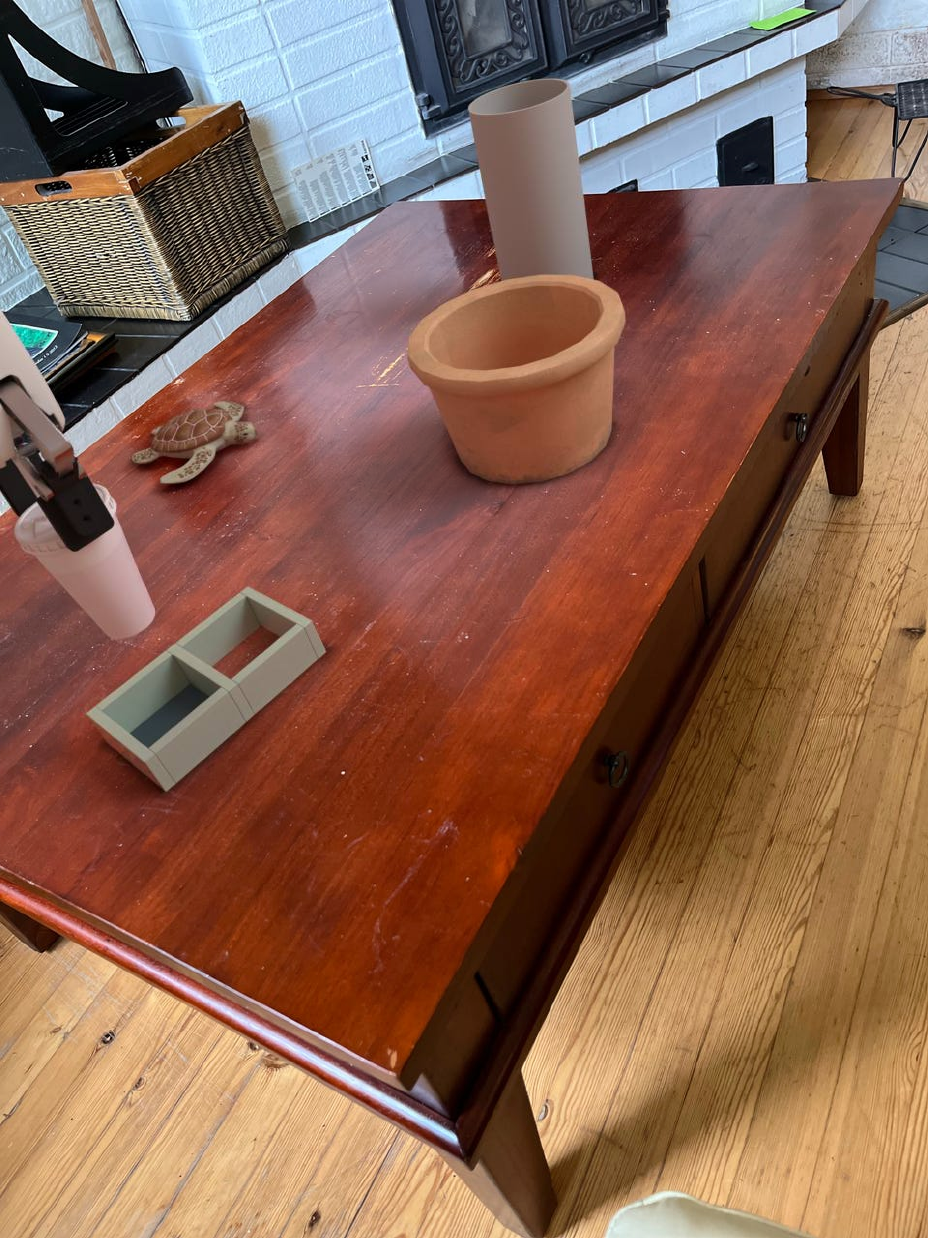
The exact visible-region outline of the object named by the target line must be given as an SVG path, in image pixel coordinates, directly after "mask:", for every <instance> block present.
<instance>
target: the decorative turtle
mask: <svg viewBox="0 0 928 1238" xmlns="http://www.w3.org/2000/svg"><path fill="white" fill-rule="evenodd" d="M213 406H214V408H195V409H192V410H187V411H185V412H181V413H180V414H178V415H176V416H174V417H172V418H171V419H169V420H168V421H167V422H166V423H165V424H164V425H160V426H159V425H158V426H156V427H155V428H153V429H152V430H151V431H150V434H151V435H153V439H152V441H151V444H150V447H148V448H145V449H143V450H140V451H136V452H135V453H134V454H133V455H132V457H131V460H132V462H133V463H135V464H140V465H141V464H142V465H144V464H148V463H151V462H153V461H155V460H157V459H158V458H160V457H168V458H171V459H172V458H175V459H189V460H188V461H187V462H186V463H185V464H184V465H183V466H180V467H179V468H177V469H175V470H172V471H170V472H167V473H166V474H164V475H163V476H161V477H160V478H159V483H161V484H163V485H172V484H173V485H174V484H181V483H185V482H188V481H190V480H192V479H194V478H195V477H197V476H198V475H199V474H200V473H202V471H204V469H206V467H208V466H209V465H210V464H211V462H212V461H213V460H214V459H215V457H216V452H219V451H221V450H223V449H224V448H227V447H229V446H231V445H233V444H235V445H244V444H248V443H250V442H252V441H254V440H255V439H256V438H257V436H258V430H257V428H256V427H255V426H254V425H253V423H252V422H250V421H240V420H241V418H242V416H243V414H244V410H245V408H244V406H243V405H242V404H240V403H238V402H235V401H217V402H214V403H213Z"/></svg>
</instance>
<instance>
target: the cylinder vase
mask: <svg viewBox="0 0 928 1238" xmlns="http://www.w3.org/2000/svg"><path fill="white" fill-rule="evenodd" d="M467 111H468V116H469V121H470V126H471V132H472V137H473V141H474V148H475V152H476V158H477V163H478V168H479V173H480V179H481V184H482V189H483V194H484V199H485V204H486V209H487V215H488V220H489V225H490V231H491V236H492V240H493V241H492V242H493V246H494V251H495V258H496V261H497V268H498V274H499V277H500V278H499V279H500V281H504V280H508V279H515V278H521V277H528V276H535V275H575V276H580V277H584V278H589V279H593V280H594V271H593V265H592V264H593V263H592V255H591V247H590V240H589V230H588V223H587V222H588V221H587V215H586V214H587V213H586V206H585V198H584V197H585V196H584V190H583V189H584V188H583V181H582V175H581V174H582V173H581V165H580V156H579V149H578V142H577V141H578V139H577V132H576V124H575V123H576V122H575V117H574V108H573V99H572V92H571V84H570V82H569V81H567V80H565V79H562V78H540V79H539V78H538V79H532V80H526V81H521V82H517V83H513V84H509V85H506V86H502V87H500V88H497V89H493V90H490V91H489V92H487V93H485V94H482V95H480V96H479V97H477V98H476V99H474V100H473V101H472V102H471V103H469V105H468V107H467Z"/></svg>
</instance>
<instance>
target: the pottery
mask: <svg viewBox="0 0 928 1238" xmlns="http://www.w3.org/2000/svg"><path fill="white" fill-rule="evenodd" d="M621 300H622V299H621V297H620V294H619V293H618V292H617V291H616V290H614V289H613V288H611V287H609V286H608V285H607V284H605V283H603V282H602V281H601V280H597V279H594V278H593V279H589V278H584V277H580V276H575V275H535V276H528V277H521V278H515V279H508V280H504V281H501V280H500V281H498V282H493V283H490V284H487V285H484V286H481V287H478V288H474V289H471V290H469V291H466V292H465V293H463V294H461V295H459V296H457V297H454V298H453V299H449V300H448V301H446V302H444V303H442V304H440V306H438V307H437V308H436V309H434V310H433V311H432V312H430V313H429V314H428V315H426V316H425V317H424V318H422V319H420V321H419V322H418V323H417V326H416V327H415V328H414V330H413V331H412V333H410V335H409V337H408V339H407V357H406V359H407V362H408V365H409V369H410V370H411V371H412V372H413V374H414V375H415V376H416V378H418V380H419V381H420V382H421V383H422V384H423V385H424V386H426V387H428V388H429V390H430V393H431V395H432V397H433V400H434V402H435V404H436V406H437V409H438V411H439V413H440V415H441V418H442V420H443V423H444V425H445V427H446V430H447V432H448V434H449V436H450V438H451V441H452V444H453V445H454V448H455V450H456V453H457V455H458V457H459V459H460V462H461V463H462V464H463V465H464V466H465V468H466V469H467V470H468V471H469V473H470V474H473V475H475V476H478V477H479V478H481V479H484V480H485V481H488V482H492V483H501V484H508V485H521V484H531V483H542V482H546V481H549V480H552V479H554V478H558V477H562V476H565V475H569V474H571V473H572V472H574V471H575V470H578V469H579V468H581V467H583V466H584V465H586V464H588V463H590V462H592V460H594V459H595V458H596V457H597V456H598V454H599V453H600V452H602V450H604V448H605V447H607V444H608V441H609V440H610V439H609V438H610V435H611V434H612V430H613V429H612V426H613V402H614V401H613V398H614V373H615V370H614V369H615V346H617V344H618V343H619V340H620V337H621V335H622V333H623V331H624V328H625V325H626V323H627V322H626V321H627V320H626V311H625V308H624V305H623V303H622V301H621Z"/></svg>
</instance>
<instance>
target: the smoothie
mask: <svg viewBox="0 0 928 1238" xmlns="http://www.w3.org/2000/svg"><path fill="white" fill-rule="evenodd" d="M18 469H19V468H18ZM20 472H21V471H20ZM21 473H22V472H21ZM22 475H23V473H22ZM23 476H24V475H23ZM24 478H25V479H26V477H25V476H24ZM26 481H27V483H28V484H29V486H30V487H31V489H32V490H33V492H34V493H35V495H36V496H37V498H38V497H40V495H39V494H38V493H37V491H36V490H35V489H34V488H33V486H32V485H31V484H30V482H29V481H28V480H27V479H26ZM92 484H93V486H94V487H95V489H96V491H97V492H98V494H99V496H100V497H101V499H102V501H103V502H104V504H105V506H106V508H107V509H108V511H109V513H110V514H111V516H112V518H113V519H114V522H115V524H114V526H113V528H112V529H110V530H109V531H107V532H106V533H104V534H103V535H101V536H100V537H98V538H97V539H95V540H94V541H92V542H91V543H90V544H88V545H87V546H85V547H84V548H82V549H81V550H79V551H77V552H72V551H71V550H69V549H68V548H67V547H66V546H65V545H64V543H63V541H62V540H61V538H60V537H59V535H58V534H57V532H56V531H55V529H54V528H53V526H52V525H51V523H50V522H49V520H48V518H47V517H46V515H45V514H44V512H43V511H42V509H41V508H40V506H39V505H38V503H37V502H35V503H34V504H33V505H31V506H30V507H29V508H28V509H27V510H26V511H25V512H24V513H23V514H22V515H21V516H20V517H19V518H18V519H17V521H16V523H15V525H14V528H13V536H14V538H15V539H16V541H17V542H18V543H19V546H20V549H22V551H24V552H25V553H26V554H27V555H28V554H29V555H32V556H34V557H35V558H36V559H37V560H38V561H39V563H40V564H41V565H42V566H43V567H44V568H45V569H46V570H47V571H48V573H50V575H52V576H53V578H54V579H55V580H56V581H57V582H58V583H59V584H60V586H61V587H63V589H64V590H65V591H66V592H67V593H68V594H69V595H70V597H72V599H73V600H74V601H75V602H76V603H77V604H78V605H79V606H80V607H81V608H82V609H83V611H84V612H85V613H86V614H87V615H88V617H90V618H91V620H92V621H93V622H94V623H95V624H96V625H97V626H98V627H99V628H100V630H101V631H102V632H103V633H104V635H106V636H107V637H108V638H110V639H113V640H125V639H128V638H131V637H134V636H136V635H138V634H140V633H141V632H143V631H144V630H146V629H147V628H148V627H149V626H150V625H151V624H152V622H153V620H154V619H155V616H156V609H155V606H154V605H153V602H152V599H151V597H150V594H149V592H148V590H147V587H146V585H145V583H144V580H143V578H142V575H141V572H140V571H139V567H138V565H137V563H136V560H135V558H134V555H133V553H132V551H131V548H130V546H129V544H128V541H127V539H126V537H125V533H124V531H123V528H122V526H121V524H120V521H119V520H118V517H117V515H116V512H117V503H116V500H115V499H114V497H112V495H111V494H110V492H109V491H108V489H107V488H106V487H105V486H103V485H102V484H98V483H92Z"/></svg>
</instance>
